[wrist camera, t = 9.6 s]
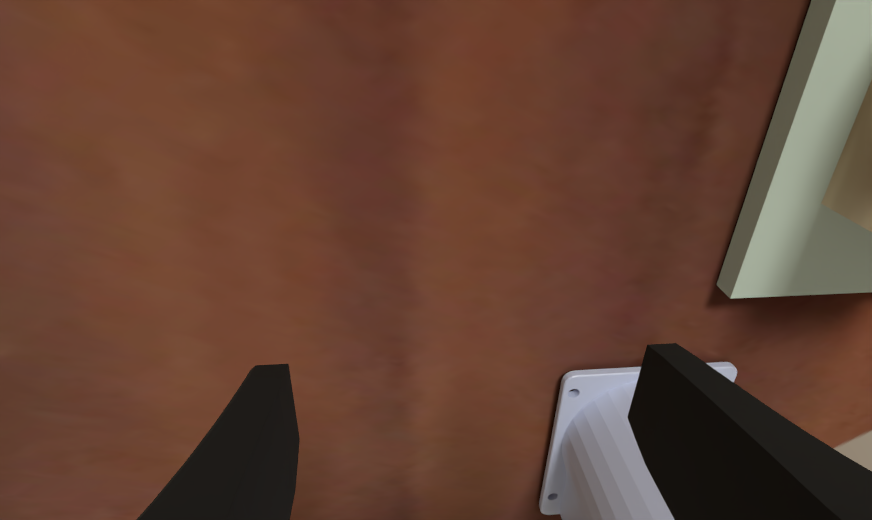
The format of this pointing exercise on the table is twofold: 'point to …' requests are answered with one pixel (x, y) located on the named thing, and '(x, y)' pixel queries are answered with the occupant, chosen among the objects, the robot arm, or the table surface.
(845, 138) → the pin base
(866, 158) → the collar block
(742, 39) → the table surface
